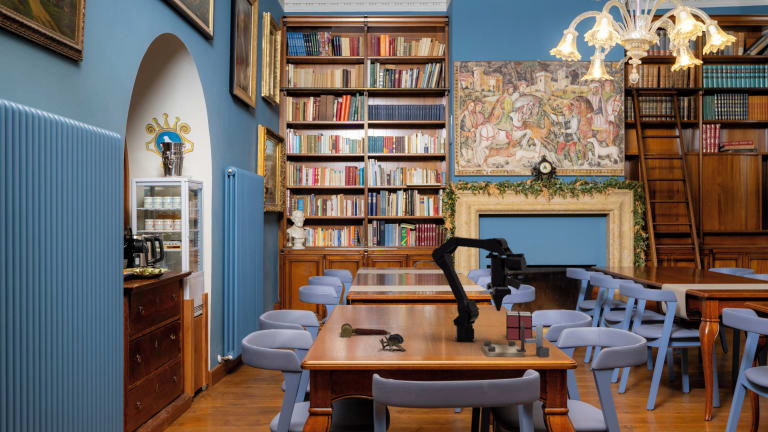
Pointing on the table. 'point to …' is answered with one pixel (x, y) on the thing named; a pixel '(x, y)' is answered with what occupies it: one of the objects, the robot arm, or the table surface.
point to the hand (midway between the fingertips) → (498, 311)
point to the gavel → (360, 331)
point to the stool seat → (505, 347)
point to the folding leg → (537, 337)
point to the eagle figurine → (393, 342)
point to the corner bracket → (542, 351)
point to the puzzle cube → (518, 325)
